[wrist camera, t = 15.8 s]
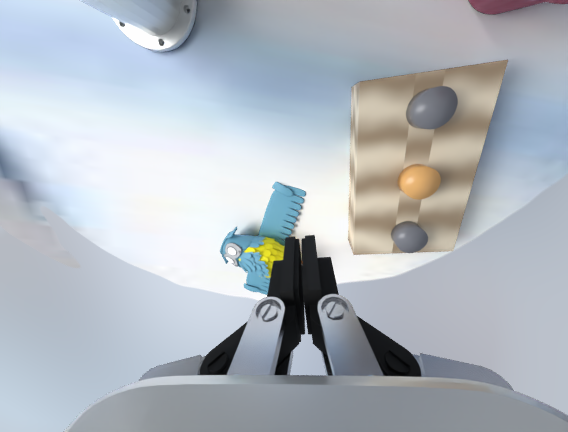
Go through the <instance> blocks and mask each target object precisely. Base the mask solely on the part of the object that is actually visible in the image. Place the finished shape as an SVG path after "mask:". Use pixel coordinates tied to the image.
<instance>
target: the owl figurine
mask: <svg viewBox="0 0 568 432" xmlns="http://www.w3.org/2000/svg"><path fill="white" fill-rule="evenodd" d="M272 188H273V189H275V191H274V192H273V194H272V196H271V198H270V201H269V203H268V206H267V209H266V212H265V215H264V218H263V222H262V225H261V228H260V231H259V235H258V236H250V235H235V234H234V233H235V231H236V230H237V227H236V228H235V229H234V230H233V231H231V232H229V233H228V235H227V236H226V238H225V239H224V241H223V243H222V246H221V249H220V253H221V254H222V257H223V259H224V260H225V263H226V264H227V262H231V263H232V264H233V265H235V266H237V267H238V266H239V267H242V268H243V270H244V271H245V272H246V271H248V275H247V280H246V281H247V284H248V285H247V284H244V288H246V289H247V290H250V291H253V292H260V293H262V294H266V295H267V294H268V292H267V291H268V289H269V288H268V287H269V284H268V283H270V280H269V279H270V277H271V271H272V265H273V261H276V260H283V256H284V246H285V241H284V240H285V238H286V237H289V236H288V235H290V234H291V233H292V231H291V230H289V229H287V228H290V229H293V228H294V225H293V224H292V223H295V222H296V218H294V217H292V216H295V217H297V216H298V215H299V213H298V212H297V211H295V210H300V209H301V206H300V205H299V204H297V203H303V202H304V199H303V198H301V197H299V196H305V195H306V193H305V191H303V190H301V189H298V188H295V187H291V186H285V185H282V184H280V183H278V182H275V183H274V185H273V187H272ZM294 194H295V195H294ZM296 195H298V196H296ZM292 201H293V202H292ZM295 202H297V203H295ZM291 208H292V209H291ZM293 209H295V210H293ZM290 215H291V216H290ZM285 220H286V221H285ZM287 221H289V222H287ZM290 222H292V223H290ZM285 227H286V228H285ZM284 233H285V234H284ZM286 234H288V235H286ZM280 238H281V239H280ZM282 239H284V240H282ZM301 261H302V260H301ZM246 273H247V272H246Z"/></svg>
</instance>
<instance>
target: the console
mask: <svg viewBox="0 0 568 432" xmlns="http://www.w3.org/2000/svg"><path fill="white" fill-rule="evenodd" d="M507 62H508V60H503V61H496V62H489V63H482V64H476V65H469V66H462V67H455V68H449V69H442V70H435V71H428V72H421V73H415V74H408V75H401V76H394V77H388V78H381V79H374V80H367V81H361V82H358V83H357V84H355V85H354V86H352V89H351V136H350V184H349V231H348V240H349V243H350V246H351V249H352V251H353V254H354V255H361V254H388V253H405V252H402V251H401V250H400V249H399V248H398V247H397V246H396V244H395V243H394V241H393V240H392V238H391V232H392V230H393V228H394V227H395V226H396V225H397V224H399V223H401V222H405V221H412V222H415V223H416V224H418V225H419V226H420V227H421V228H422V229H423V230H424V231H425V232H426V233H427V235H428V242H427V244H426V245H425V247H424V248H422V249H421V250H419V251H417V252H441V251H453V250H454V247H455V243H456V240H457V236H458V233H459V229H460V226H461V222H462V219H463V215H464V212H465V208H466V205H467V201H468V198H469V194H470V191H471V187H472V184H473V181H474V177H475V174H476V170H477V167H478V163H479V160H480V156H481V153H482V149H483V146H484V142H485V139H486V135H487V132H488V128H489V125H490V121H491V118H492V114H493V111H494V107H495V104H496V101H497V97H498V94H499V90H500V87H501V83H502V80H503V76H504V73H505V69H506V66H507ZM439 86H447V87H450V88H451V89H453V90H454V91H455V93H456V95H457V99H458V104H457V108H456V111H455V113H454V115H453V116H452V118H451V119H450V120H449V121H448V122H447V123H446V124H444V125H443V126H441V127H439V128H436V129H420V128H415V127H413V126H411V125H410V124H409V123H408V121H407V118H406V110H407V106H408V104H409V102H410V101H411V99H412V98H413V97H414V96H415V95H416V94H417V93H419V92H421V91H423V90H425V89H430V88H434V87H439ZM413 164H422V165H425V166H427V167H430V168H432V169H435V170H436V171H437V172H438V173H439V174H440V177H441V183H440V186H439V188H438V189H437V191H436V192H435V193H434V194H433V195H431V196H430V197H428V198H425V199H420V200H417V199H412V198H410V197H409V196H408V195H406V194H405V193H404V192H402V191H401V190H400V189H399V187H398V177H399V175H400V173H401V172H402V171H403V169H405V168H407V167H408V166H410V165H413Z"/></svg>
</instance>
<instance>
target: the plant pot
mask: <svg viewBox="0 0 568 432" xmlns="http://www.w3.org/2000/svg"><path fill="white" fill-rule="evenodd" d="M468 1H469V2H470V4H471V5H472V6H473V8H474V9H476V10H477V11H479V12H481V13H484V14H499V13H503V12H507V11H511V10H515V9H519V8H523V7H527V6H531V5H535V4H539V3H543V2H549V3H554V4H568V0H468Z"/></svg>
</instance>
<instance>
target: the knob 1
mask: <svg viewBox="0 0 568 432" xmlns="http://www.w3.org/2000/svg"><path fill="white" fill-rule="evenodd" d="M391 238H392V240H393V241H394V243H395V244H396V246H397V247H398V248H399V249H400V250H401V251H402V252H405V253H414V252H417V251H419V250H421V249H422V248H424V247H425V245H426V244H427V242H428V235H427V233H426V232H425V231H424V230H423V229H422V228H421V227H420V226H419V225H418V224H416V223H415V222H412V221H405V222H401V223H399V224H397V225H396V226H395V227H394V228H393V230H392V232H391Z"/></svg>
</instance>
